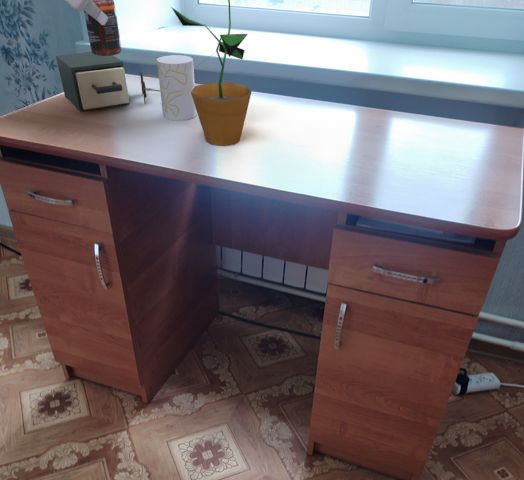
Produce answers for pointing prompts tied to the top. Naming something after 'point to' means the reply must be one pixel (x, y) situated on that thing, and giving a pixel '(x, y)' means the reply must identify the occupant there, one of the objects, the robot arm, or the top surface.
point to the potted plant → (221, 94)
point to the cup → (176, 86)
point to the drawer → (102, 87)
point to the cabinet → (77, 63)
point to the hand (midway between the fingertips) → (104, 18)
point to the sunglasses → (144, 85)
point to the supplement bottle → (104, 30)
